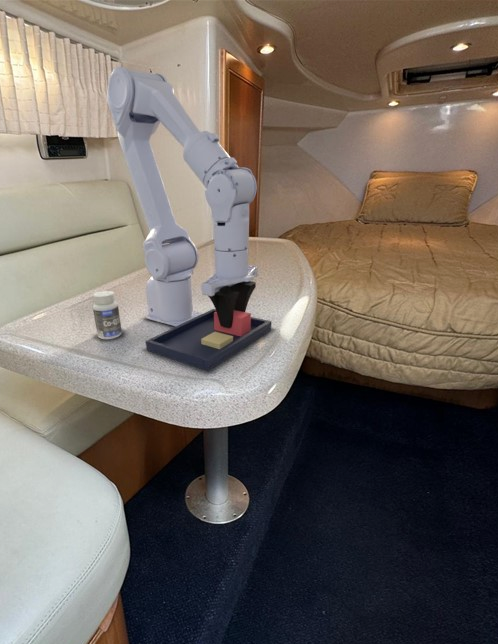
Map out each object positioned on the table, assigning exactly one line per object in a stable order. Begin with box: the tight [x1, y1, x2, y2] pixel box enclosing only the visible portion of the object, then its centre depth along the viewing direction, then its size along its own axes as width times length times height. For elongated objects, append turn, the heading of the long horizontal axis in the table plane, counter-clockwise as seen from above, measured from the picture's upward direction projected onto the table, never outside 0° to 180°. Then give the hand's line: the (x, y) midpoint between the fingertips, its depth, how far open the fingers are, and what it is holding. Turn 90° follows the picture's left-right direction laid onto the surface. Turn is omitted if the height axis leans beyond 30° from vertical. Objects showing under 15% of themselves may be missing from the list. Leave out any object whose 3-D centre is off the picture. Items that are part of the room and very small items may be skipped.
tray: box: [145, 308, 272, 372], centre depth 66 cm, size 14×20×2 cm
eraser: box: [214, 310, 252, 337], centre depth 67 cm, size 6×3×4 cm, turn 49°
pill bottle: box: [92, 290, 123, 340], centre depth 69 cm, size 5×5×8 cm
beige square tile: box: [201, 332, 233, 349], centre depth 63 cm, size 4×4×1 cm
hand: (231, 323), depth 67 cm, fingers closed on eraser, 3 cm apart
